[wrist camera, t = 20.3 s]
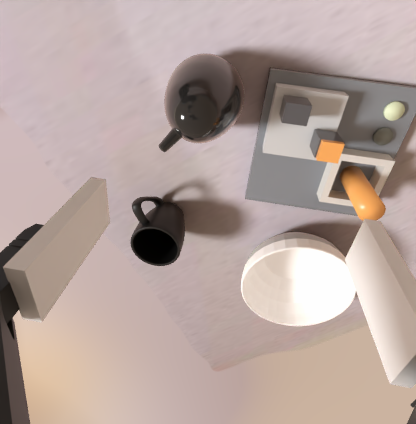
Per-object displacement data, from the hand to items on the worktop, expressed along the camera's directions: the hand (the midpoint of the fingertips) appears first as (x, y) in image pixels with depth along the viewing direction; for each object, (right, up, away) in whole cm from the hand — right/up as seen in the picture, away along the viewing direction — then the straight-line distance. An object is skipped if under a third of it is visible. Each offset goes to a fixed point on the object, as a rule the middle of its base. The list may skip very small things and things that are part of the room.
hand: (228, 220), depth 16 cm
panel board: (+16, +10, +30) cm, 36 cm away
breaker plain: (+10, +14, +23) cm, 29 cm away
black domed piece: (-1, +18, +28) cm, 33 cm away
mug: (-9, +2, +40) cm, 41 cm away
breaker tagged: (+14, +10, +25) cm, 31 cm away
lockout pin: (+21, +6, +31) cm, 37 cm away
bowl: (+15, -8, +43) cm, 46 cm away
